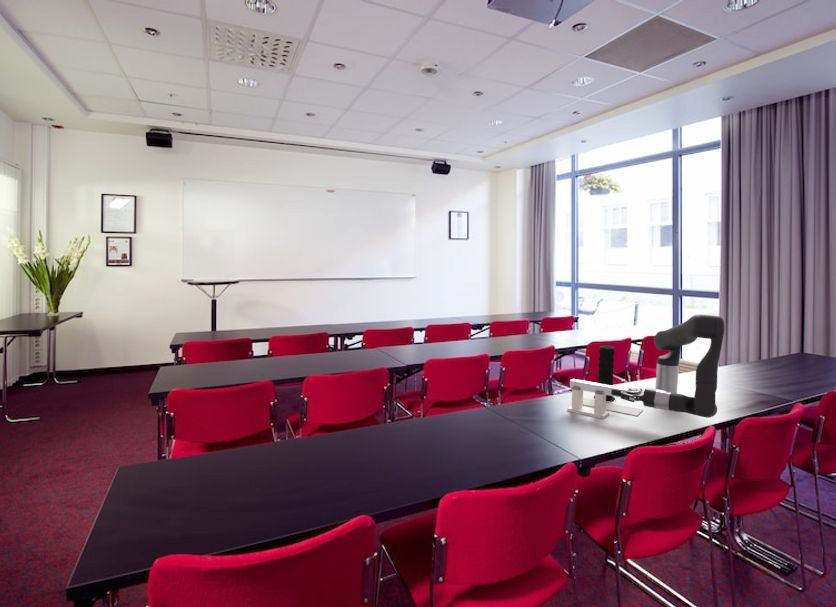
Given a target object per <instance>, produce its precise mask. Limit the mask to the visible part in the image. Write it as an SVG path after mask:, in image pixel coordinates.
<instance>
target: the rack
mask: <svg viewBox="0 0 836 607" xmlns="http://www.w3.org/2000/svg"><path fill="white" fill-rule="evenodd" d="M579 389H580V388H578V387H572V388H571V391H572V392H571V405H570V406H569V407H568V408H567V412H570V411H572V412H571V413H575V412H576V414H579V413H580V415H585V416H588V415H589V417H593V418H597V417H598V419H602V420H605V419H606V418H607V417H609V416H610V411H608V410H605V408H606V395H604V394H603V392H600V391H595V393H594V396H595V398H594V400H595V406H594V407H589V406H587V407H586V406H584V405H583V398H584V391H583V390H579Z"/></svg>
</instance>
